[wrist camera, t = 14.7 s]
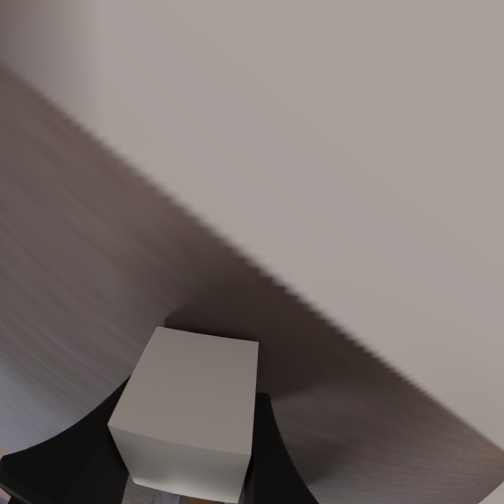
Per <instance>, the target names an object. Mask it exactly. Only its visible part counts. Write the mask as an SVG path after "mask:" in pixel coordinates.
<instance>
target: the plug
mask: <svg viewBox="0 0 504 504" xmlns="http://www.w3.org/2000/svg"><path fill="white" fill-rule="evenodd" d="M258 344H259V342H255V341H247V340H239V339H231V338H224V337H217V336H211V335H204V334H198V333H192V332H186V331H180V330H174V329H169V328H164V327H158V326H157V327H156V329H155V331H154V333H153V335H152V337H151V339H150V341H149V342H148V344H147V346H146V348H145V350H144V352H143V354H142V356H141V358H140V360H139V362H138V364H137V366H136V368H135V369H134V371H133V373H132V375H131V377H130V379H129V381H128V383H127V385H126V387H125V389H124V391H123V393H122V395H121V397H120V399H119V402H118V404H117V406H116V408H115V410H114V412H113V414H112V416H111V418H110V420H109V422H108V424H107V425H108V427H109V429H110V432H111V434H112V437H113V439H114V441H115V443H116V446H117V448H118V450H119V452H120V454H121V457H122V459H123V461H124V463H125V465H126V467H127V469H128V471H129V473H130V475H131V477H132V479H133V481H134V482H135V483H136V484H139V485H143V486H146V487H150V488H154V489H158V490H162V491H166V492H170V493H175V494H179V495H181V497H180V501H179V504H224V502H228V503H238V500H239V497H240V493H241V490H242V486H243V482H244V479H245V475H246V471H247V468H248V464H249V460H250V457H251V448H252V434H253V420H254V406H255V391H256V375H257V360H258Z"/></svg>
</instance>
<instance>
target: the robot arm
mask: <svg viewBox="0 0 504 504" xmlns="http://www.w3.org/2000/svg"><path fill="white" fill-rule="evenodd" d="M131 375H132V374H131ZM131 375H130V376H129V377H128V378H127V379H126V380H125V381H124V382H123V383H122V384H121V385H120V386H119V387H118V388H117V389H116V390H115V391H114V392H113V393H112V394H111V395H110V396H109V397H108V398H107V399H106V400H104V401H103V402H102V403H101V404H100V405H99V406H98V407H96V408H95V409H94V410H93V411H91V412H90V413H89V414H88V415H87V416H85V417H84V418H83V419H81V420H80V421H79V422H77V423H76V424H74V425H73V426H71V427H70V428H68V429H66V430H65V431H63V432H61V433H60V434H58V435H56V436H54V437H52V438H51V439H49V440H47V441H44V442H42V443H40V444H37V445H35V446H33V447H30V448H28V449H25V450H22V451H19V452H15V453H12V454H8V455H4V456H3V457H2V458H1V460H0V488H2V489H3V490H4V491H5V492H6V493H7V494H8V495H10V496H11V498H10V500H9V502H8V501H7V500H5V499H4V498H3V497H1V496H0V504H122V500H123V496H124V491H125V488H126V484H127V480H128V476H129V471H128V469H127V467H126V465H125V463H124V461H123V459H122V457H121V454H120V452H119V450H118V448H117V446H116V443H115V441H114V439H113V437H112V434H111V432H110V429H109V427H108V425H107V424H108V422H109V420H110V418H111V416H112V414H113V412H114V410H115V408H116V406H117V404H118V402H119V399H120V397H121V395H122V393H123V391H124V389H125V387H126V385H127V383H128V381H129V379H130V377H131ZM243 504H319V503H318V501H317V500H316V499H315V498H314V496H313V495H312V494H311V492H310V491H309V489H308V488H307V486H306V485H305V483H304V482H303V480H302V478H301V477H300V475H299V473H298V471H297V470H296V468H295V466H294V464H293V462H292V460H291V458H290V456H289V454H288V452H287V450H286V447H285V445H284V443H283V440H282V437H281V435H280V432H279V429H278V426H277V423H276V420H275V417H274V413H273V409H272V405H271V400H270V395H269V394H266V393H256V392H255V406H254V420H253V434H252V448H251V457H250V460H249V464H248V468H247V471H246V475H245V479H244V500H243Z"/></svg>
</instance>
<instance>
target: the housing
mask: <svg viewBox="0 0 504 504" xmlns="http://www.w3.org/2000/svg"><path fill="white" fill-rule="evenodd" d="M173 496H174V493H170V492H166V491H162V490H158V489H154V488H150V487H146V486H143V485H139V484H136V483H135V482H134V481H133V479H132V477H131V475H130V473H129V476H128V480H127V484H126V488H125V491H124V496H123V500H122V504H172V501H173ZM243 500H244V482H243V486H242V490H241V493H240V497H239V500H238V503H236V504H243Z"/></svg>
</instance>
